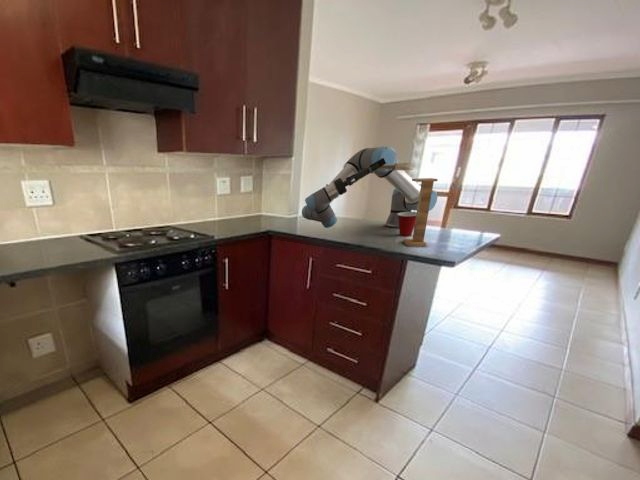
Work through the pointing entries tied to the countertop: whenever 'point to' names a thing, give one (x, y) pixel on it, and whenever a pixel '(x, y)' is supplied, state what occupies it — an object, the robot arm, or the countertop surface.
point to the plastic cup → (406, 223)
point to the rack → (421, 212)
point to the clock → (398, 166)
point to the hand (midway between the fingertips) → (384, 160)
